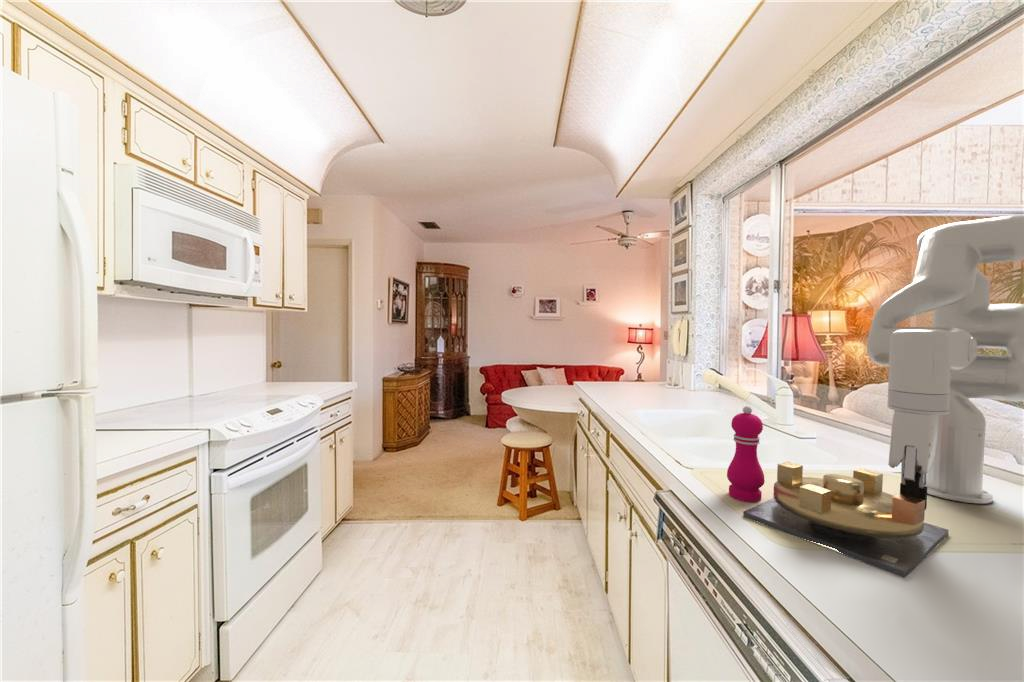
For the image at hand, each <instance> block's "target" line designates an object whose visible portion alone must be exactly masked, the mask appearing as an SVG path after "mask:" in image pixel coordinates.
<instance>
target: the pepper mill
mask: <svg viewBox="0 0 1024 682" xmlns="http://www.w3.org/2000/svg"><path fill="white" fill-rule="evenodd" d="M752 412H753V409H752V407H750V406H748V405H745V406H744V407H743V408H742V412H741V413H738V414H735V415H734V416H733V417H732V419H731V426H730V427H731V429H732V430H733V431H734V433H733V441H734V442H735V452H734V455H733V458H732V460H731V462H730V463H729V465H728V468H727V469H726V470H727V472H726V478H727V480H728V481H729V483H731V484H730V485H728V495H729V497H731V498H733V499H735V500H737V501H741V502H745V503H746V502H747V503H758V502H760V501H762V495H763V493H762V490H761V488H762V487H763V486H764V485H765V474H764V471H763V469H762V466H761V464H760V461H759V458H758V452H757V451H758V445H760V444H761V443H760V439H761V438H760V436H759V435H761V433H762V432H763V429H764V426H763V424H764V423H763V421H762V419H761V418H760V417H759V416H758V415H755V414H754V413H752Z"/></svg>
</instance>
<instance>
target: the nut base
mask: <svg viewBox="0 0 1024 682" xmlns="http://www.w3.org/2000/svg"><path fill="white" fill-rule="evenodd" d="M742 513H743V517H744V518H746V519H749V520H751V519H752V520H751V521H754V520H755V521H754V522H757V521H758V522H757V523H759V522H760V523H759V524H762V523H763V524H762V525H764V526H767V525H768V526H767V527H770V528H772V527H773V529H775V530H778V531H780V530H781V531H780V532H783V531H784V533H785V534H788V533H789V534H788V535H790V536H793V535H794V536H793V537H796V536H797V537H796V538H799V537H800V538H799V539H801V538H803V539H802V540H804V539H806V540H805V541H807V540H809V541H813V542H816V543H820V544H823V545H826V546H829V547H832V548H835V549H837V550H838V551H839V552H841V553H843V554H845V555H844V556H846V555H848V556H847V557H849V556H850V557H849V558H851V557H853V558H852V559H854V558H855V559H854V560H856V559H857V560H856V561H859V560H860V561H859V562H862V563H865V564H867V565H870V566H873V567H874V568H878V569H880V570H882V571H885V572H889V573H891V574H893V575H896V576H899V577H901V578H904V579H905V578H907V577H908V576H909V575H910V574H911V573H912V572H913V571H914V570H916V568H917V567H918V566H919V565H920V564H921V563H922V562H923V561H925V559H926V558H927V557H928V556H929V555H930V554H931V553H932V552H933V551H934V550H935V549H936V548H937V547H938V546H939V545H940V544H941V543H942V542H943V541H944V540H945V539H946V538H947V537H948V536H949V529H947V528H945V527H944V528H943V527H940V526H938V525H933V524H930V523H926V522H924V529H923V532H922V533H921V534H919V535H917V536H913V537H908V538H882V537H872V536H866V535H859V534H854V533H849V532H845V531H841V530H837V529H833V528H829V527H826V526H823V525H820V524H817V523H814V522H811V521H809V520H806V519H804V518H801V517H799V516H797V515H795V514H793V513H791V512H789V511H787V510H786V509H784V508H783V507H781V506H780V505H779V504H778V503H777V502H776V501H775V499H774V497H773V498H771V499H768V500H766V501H764V502H762V503H759V504H757V505H754V506H753V507H750V508H748V509H746V510H744V511H743V512H742ZM944 538H945V539H944ZM943 539H944V540H943ZM942 540H943V541H942ZM809 541H808V542H809ZM941 541H942V542H941ZM940 542H941V543H940ZM939 543H940V544H939ZM938 544H939V545H938ZM937 545H938V546H937ZM936 546H937V547H936ZM935 547H936V548H935ZM934 548H935V549H934ZM933 549H934V550H933ZM932 550H933V551H932ZM931 551H932V552H931ZM930 552H931V553H930ZM841 553H840V554H841ZM929 553H930V554H929ZM843 554H842V555H843ZM928 554H929V555H928ZM927 555H928V556H927Z"/></svg>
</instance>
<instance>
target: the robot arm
mask: <svg viewBox="0 0 1024 682" xmlns="http://www.w3.org/2000/svg"><path fill="white" fill-rule="evenodd" d="M916 247H917V252H918V256H917V257H918V258H917V261H916V266H915V270H914V274H913V277H912V278H913V280H912V283H911V284H908V285H906V286H905V287H904V288H902V289H900V290H899V291H897V292H895V293H894V294H893V295H891V296H890V297H889V298H888V299H887V300H885V301H884V302H883V303H882V304H881V305H880V306H879V307H878V308H877V310H876V311H875V313H874V315H873V318H872V322H871V325H870V328H869V332H868V337H867V341H866V353H867V356H868V358H869V360H870V361H871V362H873V363H874V364H876V365H879V366H883V367H888V382H887V383H888V386H887V405H886V406H887V409H889V410H893V415H892V420H891V430H890V440H889V442H890V444H889V452H888V453H889V454H888V463H887V464H888V466H889V467H890V468H891V469H894V468H895V467H896V468H897V467H898V466H899V465H900V464H901V467H900V468H901V473H900V476H901V479H900V480H901V482H900V483H899V485H900V486H899V494H905V496H909V497H913V498H917V499H919V498H921V499H924V500H925V511H926V510H927V505H928V503H927V502H928V501H927V500H928V495H930V496H934V497H937V498H941V499H945V500H950V501H951V500H952V501H956V502H959V503H967V504H979V505H980V504H989V503H992V502H993V494H992V493H990V492H988V491H987V490H984V489H983V484H984V483H983V479H984V459H985V445H986V444H985V443H986V425H987V424H986V423H987V421H986V417H985V415H984V414H983V413H982V411H981V410H980V409H979V408H978V407H977V406H976V405H975V404H974V403H973V402H972V401H971V400H970V399H982V400H983V399H984V400H991V401H993V400H994V401H1002V402H1003V401H1004V402H1016V403H1022V402H1024V303H994V304H993V303H991V302H990V290H991V283H990V280H989V278H988V277H987V275H985V274H984V273H983V272H982V271H981V270H979V269H978V268H979V267H978V266H979V265H981V264H993V263H1007V262H1015V261H1016V262H1019V261H1023V260H1024V215H1006V216H998V217H997V216H996V217H990V218H981V219H976V220H975V219H974V220H973V219H972V220H966V221H958V222H952V223H947V224H942V225H939V226H937V227H933V228H930V229H928V230H925V231H924V232H922V233H921V234H920V235H919V236H918V238H917V243H916ZM931 311H933V316H932V326H931V327H930V326H929V327H927V326H898V325H899V324H900V323H902V322H904V321H905V320H907V319H909V318H912V317H915V316H918V315H921V314H924V313H928V312H931ZM979 349H994V350H995V349H999V350H1004V351H1006V352H1007V353H1008V355H1000V354H980V353H978V350H979Z"/></svg>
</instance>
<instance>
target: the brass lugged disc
mask: <svg viewBox="0 0 1024 682" xmlns="http://www.w3.org/2000/svg"><path fill="white" fill-rule="evenodd" d="M803 468H804V466H803V465H801V464H799V463H794V462H791V461H784V462H780V463H777V471H776V472H777V474H776V479H777V481H776V482H775V483H774V484H773V496H772V497H773V498H774V499H775V501H776V502H777V503H778V504H779V505H780V506H781V507H783V508H784V509H786V510H787V511H789V512H791V513H793V514H795V515H797V516H799V517H801V518H804V519H806V520H809V521H811V522H814V523H817V524H820V525H823V526H826V527H829V528H833V529H837V530H841V531H845V532H849V533H854V534H859V535H866V536H872V537H882V538H908V537H913V536H917V535H919V534H921V533H922V532H923V529H924V523H925V517H926V516H925V513H926V510H925V500H924V499H921V498H919V499H917V498H913V497H909V496H905V494H900V493H898V494H897V495H893V494H890V493H887V492H885V491H883V482H884V481H883V480H884V473H883V472H882V473H881V472H878V471H874V470H870V469H867V468H862V467H860V468H857V469H854V470H853V473H852V474H853V475H852V477H851V476H848V475H842V474H837V473H836V474H832V473H829V474H824V475H823V476H822V477H823V478H821V477H810V476H809V477H808V476H803V471H804V469H803Z"/></svg>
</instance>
